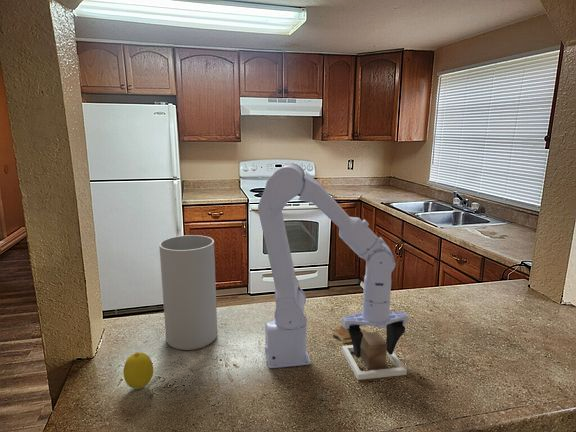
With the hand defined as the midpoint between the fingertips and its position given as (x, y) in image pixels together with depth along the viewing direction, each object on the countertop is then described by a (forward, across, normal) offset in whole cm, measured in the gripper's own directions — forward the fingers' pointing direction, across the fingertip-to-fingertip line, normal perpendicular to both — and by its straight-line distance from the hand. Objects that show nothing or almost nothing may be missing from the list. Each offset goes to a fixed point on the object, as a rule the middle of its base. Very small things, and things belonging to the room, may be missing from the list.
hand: (373, 353), depth 86 cm
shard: (+3, 0, +12) cm, 12 cm away
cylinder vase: (+2, -41, +17) cm, 44 cm away
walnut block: (+2, 0, 0) cm, 2 cm away
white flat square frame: (+2, 0, 0) cm, 2 cm away
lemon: (+2, -50, -1) cm, 50 cm away
